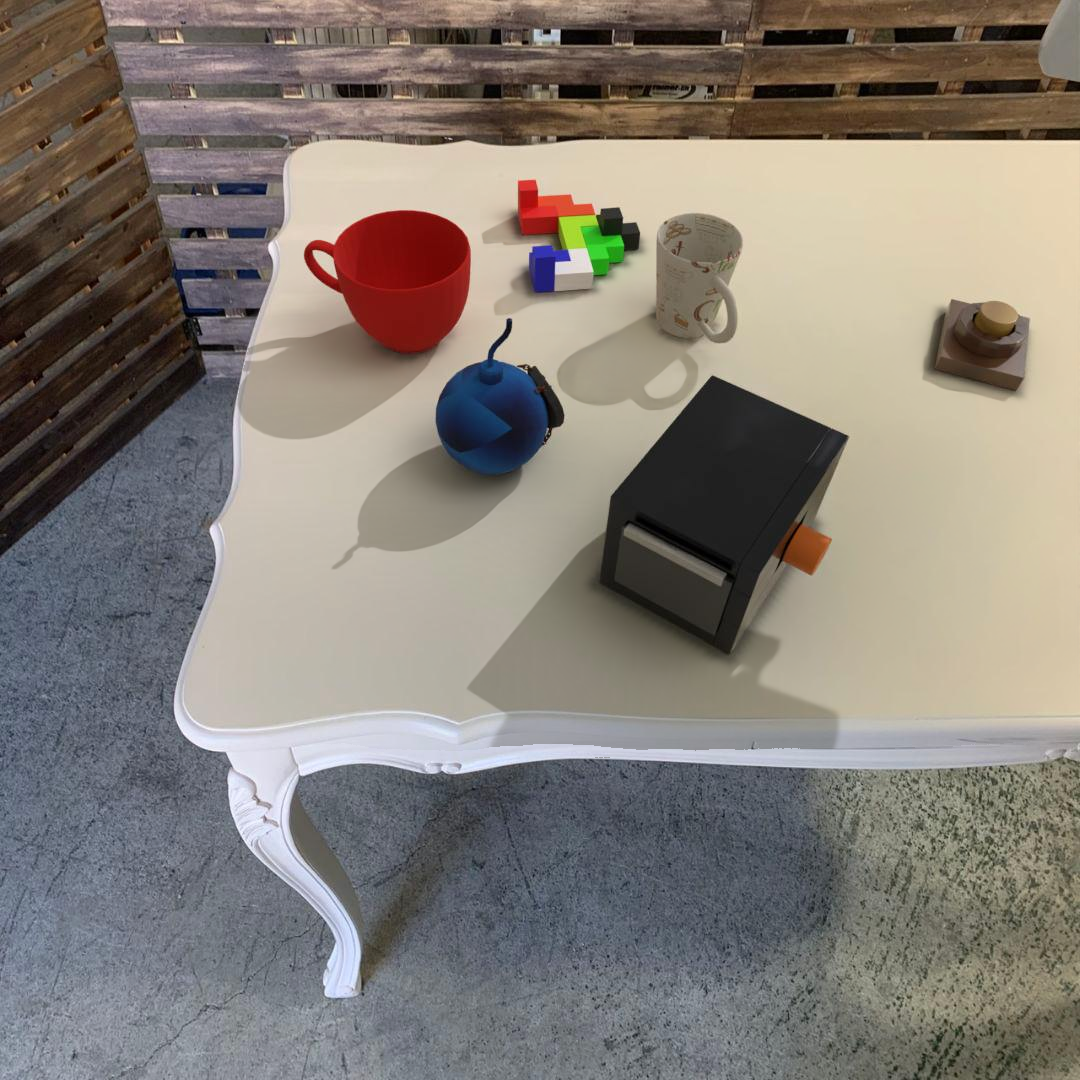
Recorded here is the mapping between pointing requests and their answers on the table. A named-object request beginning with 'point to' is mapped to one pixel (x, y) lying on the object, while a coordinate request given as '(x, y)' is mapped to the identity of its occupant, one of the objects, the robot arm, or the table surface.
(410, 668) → the table surface
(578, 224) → the building blocks
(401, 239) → the ceramic cup
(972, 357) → the button block
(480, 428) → the bomb
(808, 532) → the oven button
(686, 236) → the mug
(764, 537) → the oven
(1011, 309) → the button
